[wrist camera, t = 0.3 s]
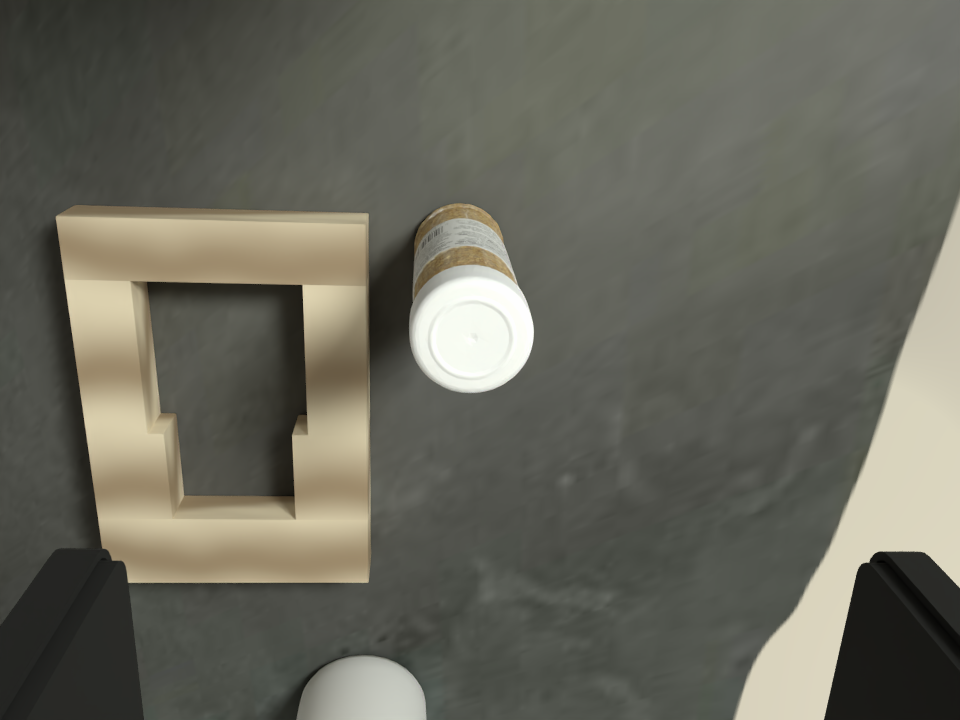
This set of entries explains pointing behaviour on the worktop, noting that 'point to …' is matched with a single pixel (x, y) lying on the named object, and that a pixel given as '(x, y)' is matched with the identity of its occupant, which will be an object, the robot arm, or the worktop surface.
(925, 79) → the worktop surface
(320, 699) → the milk bottle
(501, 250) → the spice jar
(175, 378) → the worktop surface
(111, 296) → the keyhole board
